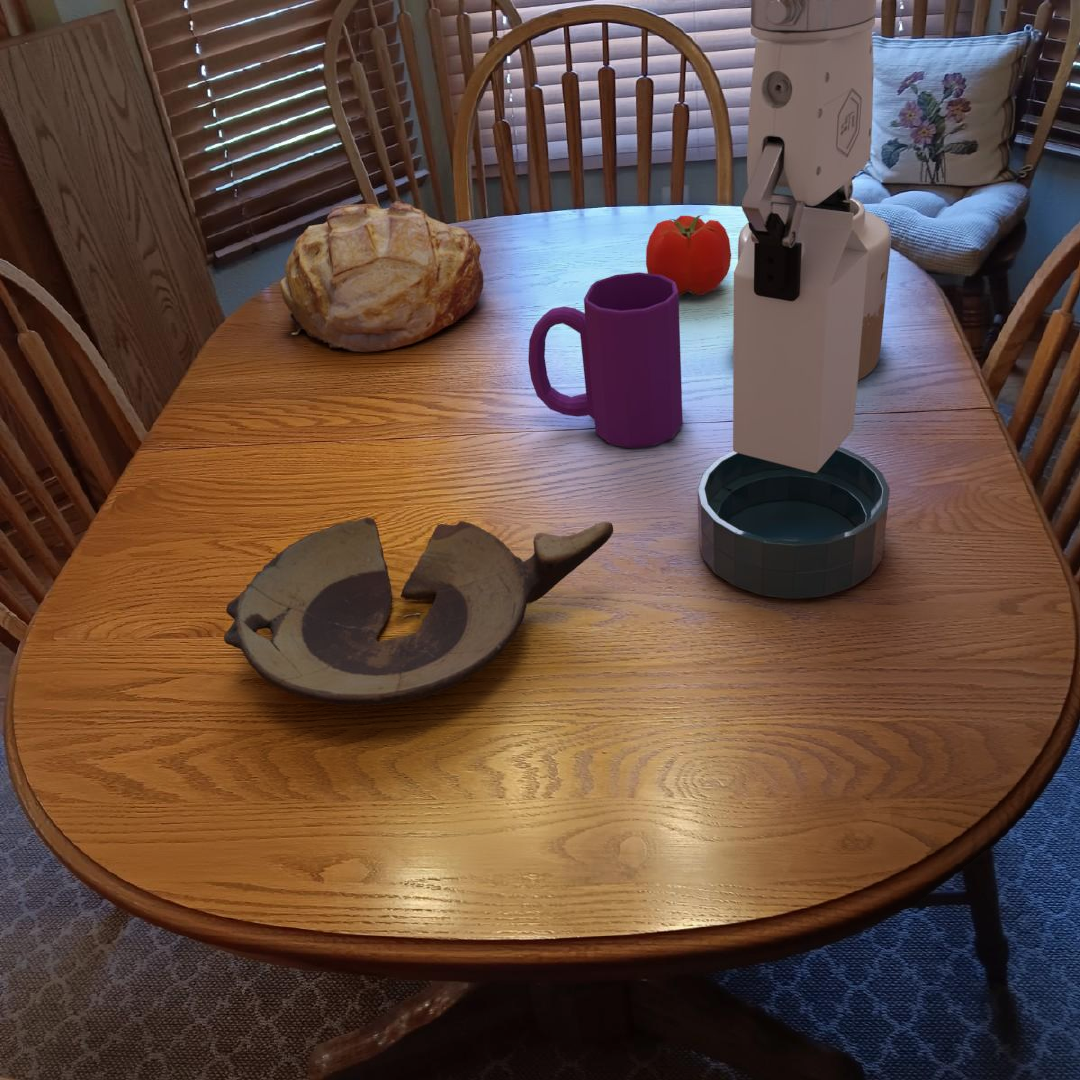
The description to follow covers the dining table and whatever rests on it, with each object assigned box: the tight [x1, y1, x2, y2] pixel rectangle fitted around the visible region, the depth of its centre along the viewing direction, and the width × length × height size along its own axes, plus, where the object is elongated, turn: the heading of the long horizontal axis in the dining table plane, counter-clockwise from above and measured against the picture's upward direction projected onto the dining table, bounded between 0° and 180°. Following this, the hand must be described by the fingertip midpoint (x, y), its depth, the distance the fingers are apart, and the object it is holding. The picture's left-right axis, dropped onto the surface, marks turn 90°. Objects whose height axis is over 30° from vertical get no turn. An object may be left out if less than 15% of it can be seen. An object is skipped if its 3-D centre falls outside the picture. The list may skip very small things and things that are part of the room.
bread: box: [279, 199, 484, 353], centre depth 134 cm, size 25×27×15 cm
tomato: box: [645, 214, 732, 296], centre depth 131 cm, size 11×11×9 cm
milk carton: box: [732, 205, 868, 473], centre depth 78 cm, size 7×7×19 cm
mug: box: [528, 272, 684, 449], centre depth 104 cm, size 9×16×15 cm, turn 75°
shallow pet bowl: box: [697, 446, 891, 600], centre depth 88 cm, size 15×15×6 cm
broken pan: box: [223, 516, 614, 707], centre depth 82 cm, size 22×30×8 cm
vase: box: [737, 197, 892, 381], centre depth 111 cm, size 15×15×17 cm
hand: (801, 273), depth 75 cm, fingers closed on milk carton, 7 cm apart
